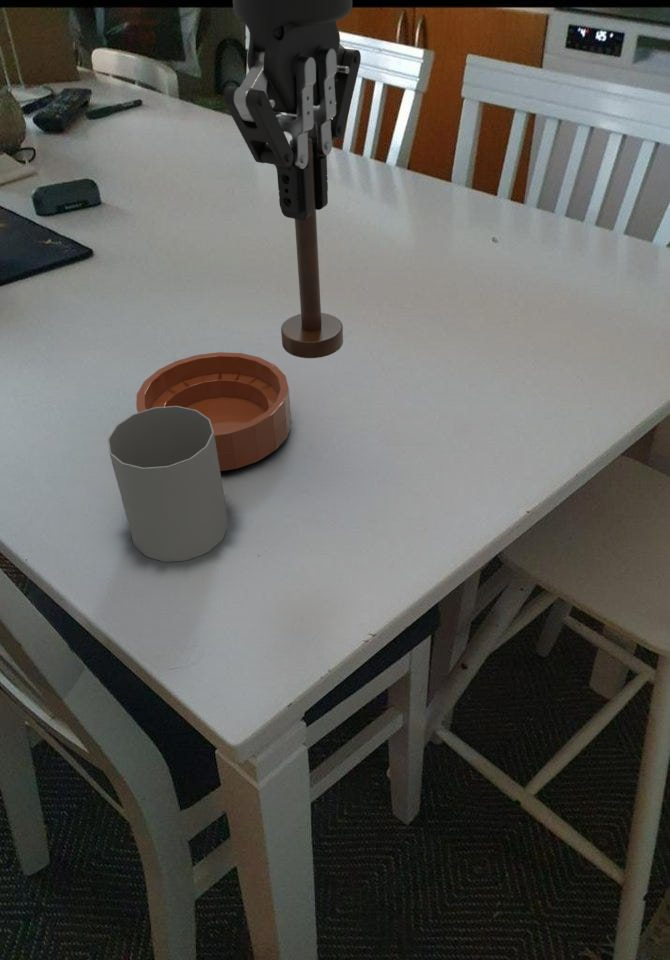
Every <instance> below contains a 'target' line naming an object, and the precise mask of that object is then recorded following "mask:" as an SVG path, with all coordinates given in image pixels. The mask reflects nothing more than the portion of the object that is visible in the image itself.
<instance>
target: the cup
mask: <svg viewBox="0 0 670 960" xmlns="http://www.w3.org/2000/svg"><path fill="white" fill-rule="evenodd" d="M107 446H108V454H109V456H110V460H111V461H110V462H111V465H112V468H113V471H114V475H115V480H116V483H117V487H118V491H119V494H120V498H121V501H122V505H123V509H124V513H125V515H126V516H125V517H126V520H127V524H128V529H129V531H130V534H131V538H132V543H133V546H134V547H136V549H137V550H139V552H140V553H142V555H144V556H145V558H150V559H154V560H157V561H160V562H164V563H170V562H183V561H190V560H192V559H195V558H198V557H200V556H203V555H205V554H208V553H209V552H210V551H211V550H213V549H214V548H215V547H217V545H218V544H220V543H221V542H222V541H223V540H224V538H225V535H226V533H227V530H228V527H229V525H230V523H229V517H228V510H227V503H226V499H225V493H224V487H223V482H222V473H221V471H220V467H219V461H218V455H217V449H216V443H215V436H214V431H213V428H212V425H211V421H210V419H209V418H207V417H206V416H204V415H203V414H202V413H200V412H199V411H197V410H194V409H189V408H184V407H180V406H168V407H154V408H151V409H148V410H145V411H142V412H139V413H138V412H135V413H133V414H130V416H128V417H127V418H126V419H123V420H122V421H121V422H119V423H118V424H116V425H115V426H114V428H113V429H112V432H111V433H110V434H109V436H108V438H107Z"/></svg>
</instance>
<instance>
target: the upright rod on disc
mask: <svg viewBox="0 0 670 960" xmlns="http://www.w3.org/2000/svg"><path fill="white" fill-rule="evenodd" d="M289 145H290V147H291V148H293V144H292V139H290V140H289ZM307 166H309V167H310V186H311V205H312V214H311V216H309V217H308V218H306V219H305V220H298V219H294V228H295V229H294V231H295V243H296V259H297V261H296V262H297V274H298V275H297V276H298V289H299V303H300V313H298V314H296V315H293V316H290V317H289V318H287V319H286V320H285V321H284V322H283V323H282V325H281V327H280V334H281V346H282V348H283V349H284V351H285V352H286V353H288V354H289V355H291V356H294V357H297V358H302V359H319V358H324V357H329V356H331V355H332V354H335V353H336V352H338V351H339V350H340V349H341V348H342V346H343V344H344V327H343V326H344V325H343V323H342V321H341V320H340V319H339V318H338V317H336V316H335V315H332V314H329V313H325V312H322V308H321V307H322V305H321V304H322V303H321V283H320V264H319V247H318V246H319V245H318V244H319V242H318V226H317V225H318V224H317V210H316V201H315V181H314V161H313V141H312V139H310V138H308V163H307Z"/></svg>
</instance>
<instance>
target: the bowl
mask: <svg viewBox="0 0 670 960" xmlns="http://www.w3.org/2000/svg"><path fill="white" fill-rule="evenodd" d="M135 400H136V401H135V402H136V404H135V405H136V407H135V408H136V413H139V412H142V411H145V410H148V409H151V408H154V407H168V406H180V407H184V408H189V409H194V410H197V411H199V412H200V413H202V414H203V415H204V416H206V417H207V418H209V419H210V421H211V425H212V428H213V431H214V436H215V443H216V449H217V455H218V461H219V467H220V472H223V471H225V472H226V471H231V470H237V469H240V468H243V467H246V466H248V465H251V464H252V465H253V464H255V463H257V462H259V461H261V460H263V459H265V457H267V456H269V455H271V454H272V453H274V452H275V451H277V449H279V447H280V446H282V444H283V443H284V442H285V440H287V438H288V436H289V433H290V429H291V426H292V412H291V400H290V388H289V384H288V379H287V376H286V375H285V373H283V372H282V370H281V369H280V368H279V367H278V366H277V365H276V364H274V363H272V362H270V361H268V360H267V359H264V358H262V357H260V356H255V355H251V354H246V353H243V352H224V351H220V352H219V351H217V352H209V353H201V354H194V355H192V356H189V357H185V358H182V359H178V360H174V361H172V362H170V363H169V364H167V365H164V366H163V367H161V368H158V369H157V370H156V371H155V372H154V373H152V374H151V375H150V376H149V377H147V378H146V379H145V380H144V381H143V383H142V384H141V385H140V388H139V390H138V391H137V393H136V399H135Z"/></svg>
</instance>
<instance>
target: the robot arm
mask: <svg viewBox="0 0 670 960" xmlns="http://www.w3.org/2000/svg"><path fill="white" fill-rule="evenodd" d="M352 8H353V0H232V9H233V14H234V16H235V17H236V18H237V20H239V21H240V22H242V23H244V25H245V27H247V29H248V32H249V41H248V49H247V55H246V64H247V68H248V72H247V74H246V76H245V78H244V79H243V80H242V82H241V84H240V86H239V87H238V86H228V87H227V88H226V89H225V91H224V95H223V101H224V104H225V106H226V108H227V110H228V112H229V114H230V116H231V117H232V119H233V121H234V123H235V125H236V127H237V128H238V131H239V132H240V135H241V136H242V138H243V140H244V142H245V144H246V146H247V147H248V149H249V152H250V153H251V155H252V157H253V159H254V161H255V162H256V163H260V164H269V165H273V166H274V167H275V169H276V174H277V187H278V189H277V190H278V197H279V198H278V200H279V201H278V202H279V207H280V210H281V213H282V215H283V216H284V217H286V218H288V219H292V220H293V219H294V220H295V219H298V220H305V219H306V218H308V217H309V216H311V214H312V205H311V186H310V167H309V166H307V163H308V138H310V139H312V141H313V161H314V181H315V201H316V211H320V210H322V209H324V208H326V207H327V205H328V204H329V203H328V202H329V198H328V196H329V195H328V191H329V184H328V180H329V179H328V156H329V155H330V154H331V151H332V148H333V141H334V140H335V139H338V140H340V139H342V138H343V137H344V135H345V130H346V126H347V121H348V118H349V113H350V110H351V104H352V101H353V97H354V96H353V95H354V91H355V87H356V83H357V79H358V74H359V71H360V66H361V60H362V55H361V51H360V50H359V49H353V48H345V47H344V46H343V45H342V44H341V35H340V31H339V28H338V25H337V24H338V23H337V21H341V20H342V19H344V18H347V16H348V15H349V14H350V13H351V11H352V10H353V9H352ZM285 133H289V134H290V136H291V140H292V144H293V148H291V147H290V142H289V141H288V139H287V136H286V134H285Z"/></svg>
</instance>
